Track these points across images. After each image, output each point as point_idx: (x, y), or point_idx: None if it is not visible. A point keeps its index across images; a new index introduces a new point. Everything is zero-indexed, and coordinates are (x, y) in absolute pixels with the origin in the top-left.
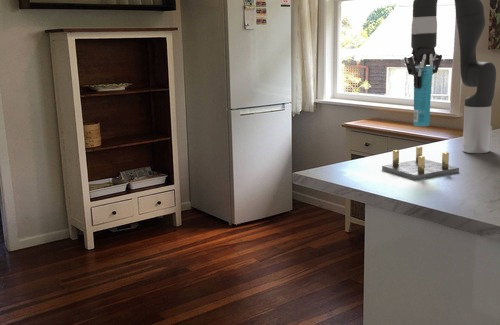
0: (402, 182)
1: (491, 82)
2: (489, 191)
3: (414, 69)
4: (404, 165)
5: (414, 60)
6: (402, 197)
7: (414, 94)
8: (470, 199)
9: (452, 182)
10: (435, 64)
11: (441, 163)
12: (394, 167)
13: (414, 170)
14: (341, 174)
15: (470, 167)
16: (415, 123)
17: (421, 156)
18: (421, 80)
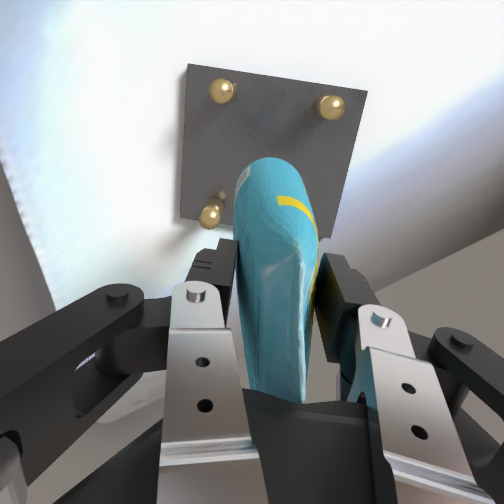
0: (142, 206)
1: None
2: None
3: (90, 402)
4: (244, 114)
5: (92, 482)
6: (63, 282)
7: (242, 205)
8: None
9: (234, 277)
10: (484, 477)
11: (345, 175)
12: (201, 111)
13: (218, 179)
14: (44, 9)
15: (399, 221)
16: (235, 188)
17: (213, 216)
18: (243, 313)
